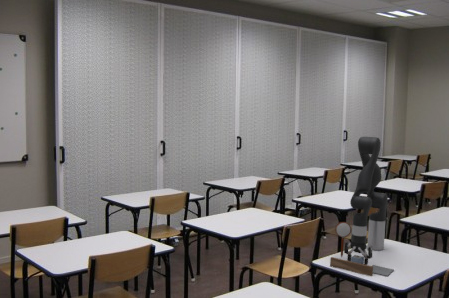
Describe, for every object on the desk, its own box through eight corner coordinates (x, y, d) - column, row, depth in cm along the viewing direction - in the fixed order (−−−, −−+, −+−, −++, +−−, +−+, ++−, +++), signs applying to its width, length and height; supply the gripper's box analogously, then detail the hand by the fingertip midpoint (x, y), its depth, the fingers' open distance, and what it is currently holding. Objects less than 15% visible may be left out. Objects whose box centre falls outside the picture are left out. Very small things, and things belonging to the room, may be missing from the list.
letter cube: (354, 263, 262) (355, 254, 261) (363, 265, 259) (364, 256, 258) (350, 266, 258) (351, 256, 257) (360, 268, 255) (360, 258, 254)
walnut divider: (331, 265, 258) (331, 257, 258) (372, 275, 245) (373, 266, 245) (330, 266, 257) (330, 257, 256) (371, 276, 244) (371, 267, 244)
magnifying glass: (334, 257, 271) (336, 222, 269) (333, 256, 273) (335, 221, 270) (349, 257, 271) (351, 222, 269) (349, 256, 273) (351, 221, 271)
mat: (373, 265, 259) (373, 264, 259) (394, 270, 253) (394, 269, 253) (365, 271, 250) (365, 270, 250) (387, 276, 244) (387, 275, 244)
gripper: (375, 234, 255) (373, 264, 257) (348, 229, 264) (347, 258, 265) (370, 237, 249) (368, 268, 251) (343, 232, 258) (341, 262, 259)
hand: (357, 263), depth 258 cm, fingers open, 8 cm apart
